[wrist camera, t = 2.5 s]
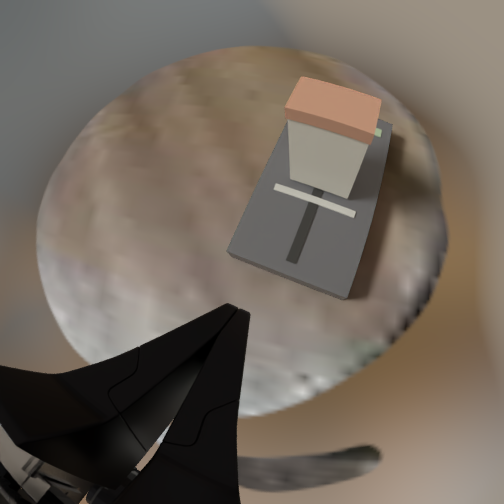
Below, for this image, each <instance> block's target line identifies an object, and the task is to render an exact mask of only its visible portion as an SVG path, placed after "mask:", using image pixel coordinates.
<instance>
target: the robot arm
mask: <svg viewBox="0 0 504 504" xmlns="http://www.w3.org/2000/svg"><path fill="white" fill-rule="evenodd" d="M249 322H250V313H249V312H247V311H245V310H243V309H238V307H236V306H234V305H231V304H229V303H226V304H224V305H222V306H220V307H218V308H216V309H214V310H212V311H210V312H208V313H206V314H204V315H202V316H200V317H198V318H196V319H194V320H192V321H190V322H188V323H186V324H184V325H182V326H180V327H178V328H176V329H174V330H172V331H170V332H168V333H166V334H164V335H162V336H160V337H157V338H155V339H153V340H151V341H149V342H147V343H145V344H143V345H141V346H140V347H136V348H134V349H132V350H130V351H127V352H125V353H123V354H120V355H118V356H116V357H113V358H110V359H107V360H105V361H102V362H99V363H95V364H92V365H89V366H86V367H82V368H79V369H76V370H72V371H69V372H65V373H59V374H47V373H39V372H33V371H27V370H21V369H16V368H11V367H6V366H1V365H0V504H79V503H80V501H81V500H82V499H83V498H84V496H85V495H86V494H87V492H88V491H89V492H88V494H87V496H86V501H87V503H89V504H241V503H240V496H239V486H238V464H237V420H238V410H239V400H240V393H241V386H242V378H243V370H244V362H245V354H246V346H247V338H248V330H249ZM173 419H174V420H173ZM172 420H173V422H172V424H171V426H170V427H169V429H168V431H167V433H166V435H165V437H164V439H163V442H162V443H161V444H160V446H159V448H158V449H157V451H156V453H155V454H154V456H153V457H152V458H151V460H150V461H149V462H148V463H147V464H146V466H145V467H144V468H143V469H142V470H141V471H139V470H137V468H136V467H135V466H136V465H137V464H138V463H139V461H140V460H141V459H142V458H143V457H144V456H145V454H146V453H147V452H148V450H149V449H150V448H151V447H152V446H153V444H154V443H155V442H156V441H157V439H158V438H159V437H160V435H161V434H162V433H163V432H164V430H165V429H166V428H167V427H168V425H169V424H170V422H171V421H172ZM21 488H22V489H21Z"/></svg>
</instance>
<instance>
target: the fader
mask: <svg viewBox="0 0 504 504" xmlns="http://www.w3.org/2000/svg"><path fill="white" fill-rule="evenodd" d="M381 101H382V100H381V99H378V98H375V97H373V96H370V95H367V94H364V93H361V92H358V91H355V90H352V89H348V88H345V87H342V86H338V85H335V84H331V83H327V82H323V81H320V80H315V79H311V78H307V77H303V76H301V78H300V79H299V81H298V83H297V85H296V87H295V89H294V91H293V92H292V94H291V96H290V98H289V100H288V102H287V104H286V106H285V118H286V119H288V136H289V161H290V179H292V180H295V181H298V182H301V183H304V184H307V185H310V186H313V187H315V188H318V189H321V190H324V191H327V192H330V193H332V194H335V195H338V196H341V197H343V198H346V199H347V198H348V196H349V194H350V191H351V189H352V186H353V184H354V181H355V179H356V176H357V174H358V171H359V169H360V166H361V164H362V161H363V158H364V156H365V153H366V151H367V148H368V145H371V143H372V140H373V137H374V134H375V130H376V125H377V121H378V116H379V111H380V106H381Z"/></svg>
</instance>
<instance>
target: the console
mask: <svg viewBox="0 0 504 504" xmlns="http://www.w3.org/2000/svg"><path fill="white" fill-rule="evenodd" d="M392 125H393V124H390V123H388V122H385V121H383V120H380V119H378V121H377V125H376V130H375V134H374V137H373V140H372V143H371V145H368V148H367V151H366V153H365V156H364V158H363V161H362V164H361V166H360V169H359V171H358V174H357V176H356V179H355V181H354V184H353V186H352V189H351V191H350V194H349V196H348V198H347V199H346V198H343V197H341V196H338V195H335V194H332V193H330V192H327V191H324V190H321V189H318V188H315V187H313V186H310V185H307V184H304V183H301V182H298V181H295V180H292V179H290V161H289V136H288V121H287V123H286V125H285V127H284V129H283V131H282V133H281V135H280V137H279V139H278V141H277V144H276V146H275V148H274V150H273V152H272V154H271V156H270V158H269V160H268V162H267V164H266V166H265V169H264V171H263V173H262V175H261V177H260V179H259V181H258V183H257V185H256V188H255V190H254V192H253V194H252V196H251V198H250V200H249V203H248V205H247V207H246V209H245V211H244V213H243V216H242V218H241V220H240V222H239V224H238V226H237V229H236V231H235V233H234V235H233V237H232V240H231V242H230V244H229V246H228V249H227V252H228V253H229V254H230V256H231V257H233V258H236V259H238V260H241V261H243V262H246V263H248V264H251V265H253V266H256V267H258V268H261V269H263V270H266V271H269V272H271V273H274V274H276V275H279V276H281V277H284V278H286V279H289V280H291V281H294V282H296V283H299V284H302V285H304V286H307V287H309V288H312V289H314V290H317V291H320V292H322V293H325V294H327V295H330V296H333V297H335V298H338V299H340V300H344V299H346V298H347V297H348V294H349V291H350V288H351V286H352V283H353V280H354V277H355V274H356V271H357V268H358V265H359V262H360V259H361V255H362V252H363V249H364V246H365V242H366V239H367V236H368V232H369V229H370V225H371V222H372V218H373V214H374V210H375V207H376V203H377V199H378V195H379V190H380V186H381V182H382V177H383V173H384V168H385V163H386V159H387V153H388V148H389V143H390V137H391V131H392Z"/></svg>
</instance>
